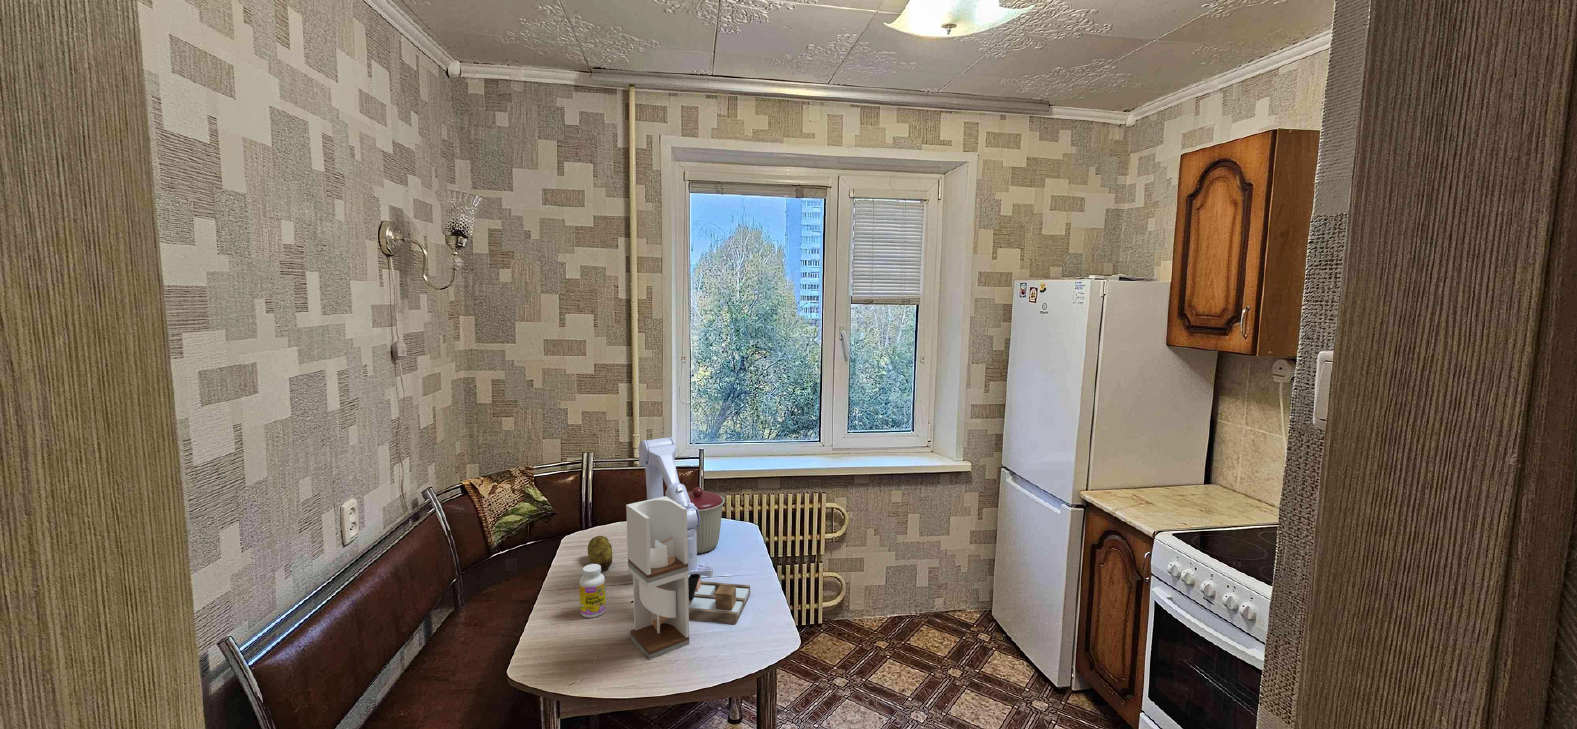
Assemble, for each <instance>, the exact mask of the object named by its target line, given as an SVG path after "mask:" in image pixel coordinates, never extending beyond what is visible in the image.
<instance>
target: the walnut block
mask: <svg viewBox="0 0 1577 729" xmlns="http://www.w3.org/2000/svg"><path fill="white" fill-rule="evenodd" d="M735 603H736V587H734V586H723V585H720V586H719V588H718V590H717V591H716V593H715V607H716V609H720V610H731V611H732V609H733V607H734V605H735Z"/></svg>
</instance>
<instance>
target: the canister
mask: <svg viewBox="0 0 1577 729" xmlns="http://www.w3.org/2000/svg"><path fill="white" fill-rule="evenodd" d="M687 493H688V496H689V499H690V501H691V503H693V504H694V506H695V507H696V508H697V509H698V512H699V515H700V525H699V527H696V536H697V554H703V553H706V552H707V553H708V552H710V551H712V550H713V549H715V548H716V547H717V546H718V543H719V540H720V535H721V534H720V532H721V526H722V525H721V524H722V516H723V514H722V513H723V505H724V504H725V502H726V500H725V497H723V496H722V495H720V494H719V493H716V492H714V491H709V490H704V489H703V488H702V487H700V486H698V487H694V488H693V489H692V491H687Z"/></svg>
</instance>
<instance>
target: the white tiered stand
mask: <svg viewBox="0 0 1577 729" xmlns="http://www.w3.org/2000/svg"><path fill="white" fill-rule="evenodd" d="M663 496H664V495H663ZM625 508H626V539H627V542H626V544H627V546H626V547H627V570H628V571H627V572H628V573H630V574H631V576H632V589H633V590H632V591H633V592H632V593H633V595H632V597H633V620H634V621H633V622H634V623H633V624H634V626H633V629H630V630H629V635H630V637H629V638H630V639H631V640H632V642H634V644H635V645H636V646H637V647H638V648H639V649H640V650H641V652H642V653H643V654H644V655H645V656H646V657H647V658H648V660H652V659H655V658H657V657H660V656H662V655H665V654H668V653H670V652H672V651H675V650H677V649H680V648H682V647H683V648H684V647H685V646H688V645H690V619H689V598H688V578H689V575H688V542H687V508H685V507H683V506H682V505H680V504H678V503H677V502H675V501H673V500H671V499H670V498H668V497H666V495H665V496H664V497H659V498H655V499H650V500H647V499H646V500H643V501H641V500H640V501H637V502H632V503H628V504H625Z"/></svg>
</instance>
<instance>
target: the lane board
mask: <svg viewBox="0 0 1577 729" xmlns="http://www.w3.org/2000/svg"><path fill="white" fill-rule="evenodd" d="M701 585H710V586H715V592H714V594H713V595H703V594H694V598H705V599H715V593H716V591H717V590H718V588H719V586H720V585H723V586H734V587H736V588H745V589H749V595H748V597H747V599H746V601H745V603H744V598H737V597H736V601H739V602H743V606H742V608H741V611H740V613H739V615H738V616H737V612H731V611H721V610H710V609H699V608H689V621H690V620H692V621H702V622H711V623H722V624H732V625H733V624H735V625H737V623H738V622H739V619H740V617H741V615H742V613H743V611H744V609H745V606H746V604H747V603H748V600H749V599H750V596H751V585H749V584H738V583H726V582H714V581H705V580H704V581H703V580H701Z"/></svg>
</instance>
